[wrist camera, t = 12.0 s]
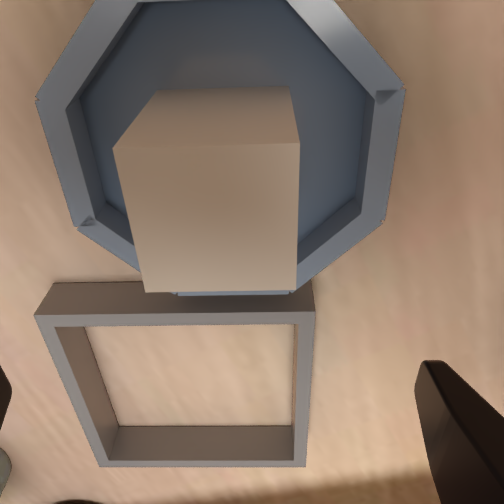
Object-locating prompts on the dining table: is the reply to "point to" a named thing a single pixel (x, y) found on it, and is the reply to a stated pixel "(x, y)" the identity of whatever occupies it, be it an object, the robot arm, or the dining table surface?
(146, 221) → the stone block
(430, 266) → the dining table surface
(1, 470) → the embossed ceramic cup
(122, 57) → the ceramic bowl
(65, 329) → the open square frame
